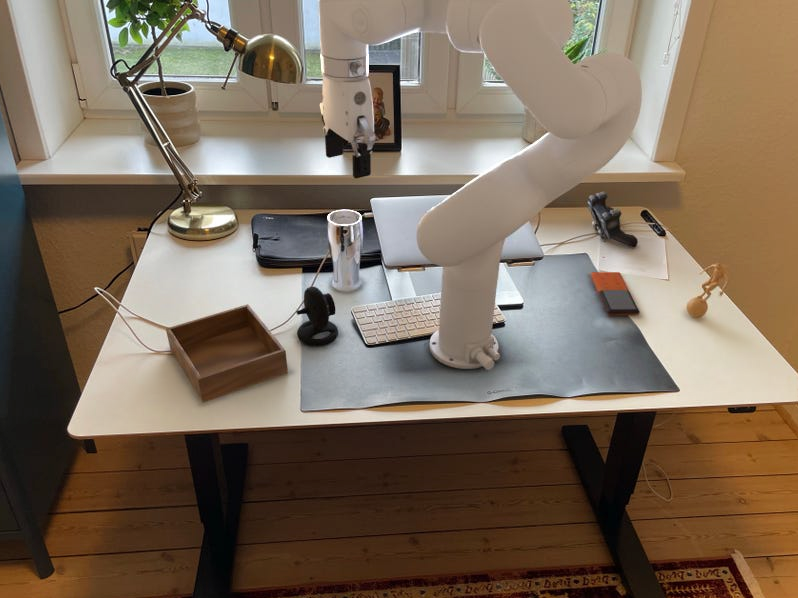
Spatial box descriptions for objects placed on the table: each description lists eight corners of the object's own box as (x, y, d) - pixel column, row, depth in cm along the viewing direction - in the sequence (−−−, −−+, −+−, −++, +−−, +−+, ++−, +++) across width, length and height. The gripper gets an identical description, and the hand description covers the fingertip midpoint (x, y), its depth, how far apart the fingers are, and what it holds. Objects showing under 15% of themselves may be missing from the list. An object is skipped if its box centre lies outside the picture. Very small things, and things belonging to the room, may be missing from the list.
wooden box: (288, 372, 129) (285, 350, 126) (202, 402, 122) (198, 379, 119) (251, 325, 140) (248, 303, 136) (170, 350, 133) (165, 328, 130)
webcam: (345, 341, 137) (343, 295, 131) (307, 352, 134) (303, 306, 128) (328, 319, 142) (326, 274, 136) (291, 329, 139) (287, 284, 133)
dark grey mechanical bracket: (589, 226, 181) (576, 194, 175) (615, 213, 180) (603, 180, 174) (613, 261, 169) (600, 227, 163) (641, 247, 168) (629, 212, 162)
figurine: (676, 304, 151) (691, 252, 144) (703, 302, 152) (720, 251, 145) (694, 328, 145) (711, 275, 137) (723, 326, 146) (741, 273, 138)
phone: (620, 270, 158) (641, 311, 146) (619, 276, 159) (639, 316, 147) (590, 270, 158) (608, 311, 146) (589, 276, 158) (607, 316, 147)
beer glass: (358, 295, 149) (357, 228, 140) (325, 290, 150) (321, 223, 141) (367, 277, 154) (367, 211, 145) (335, 272, 155) (332, 207, 146)
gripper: (393, 77, 116) (392, 180, 126) (339, 47, 127) (343, 144, 137) (350, 84, 112) (353, 189, 123) (299, 53, 123) (306, 152, 134)
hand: (347, 165), depth 130 cm, fingers open, 9 cm apart
